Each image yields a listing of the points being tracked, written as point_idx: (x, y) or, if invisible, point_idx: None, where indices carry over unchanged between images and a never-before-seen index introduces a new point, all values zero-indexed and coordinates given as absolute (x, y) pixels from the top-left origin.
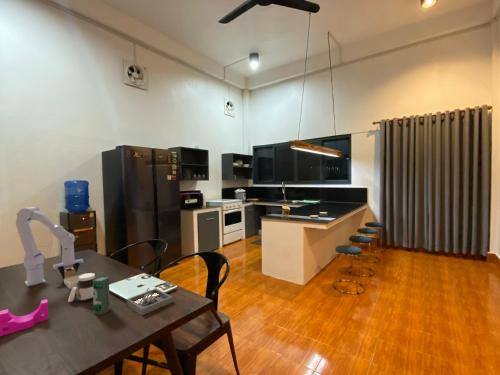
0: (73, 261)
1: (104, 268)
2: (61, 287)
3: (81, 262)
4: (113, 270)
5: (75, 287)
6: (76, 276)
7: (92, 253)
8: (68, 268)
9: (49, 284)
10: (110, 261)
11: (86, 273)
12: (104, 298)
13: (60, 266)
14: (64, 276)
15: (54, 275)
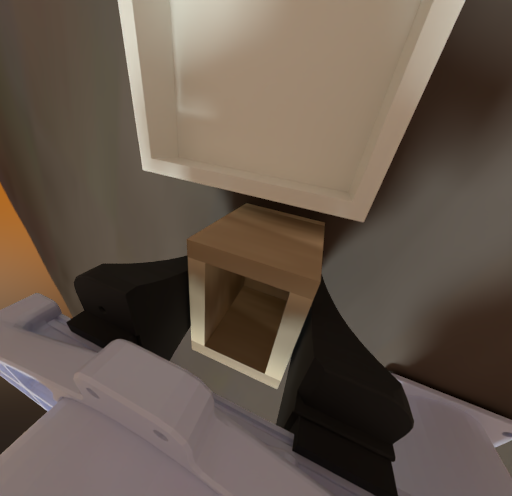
0: (44, 416)
1: (80, 233)
2: (470, 95)
3: (47, 305)
4: (28, 135)
5: None
6: (234, 175)
7: None
8: (224, 357)
9: (415, 313)
10: (67, 292)
11: (143, 156)
12: None
13: (339, 482)
14: None
15: (282, 390)
